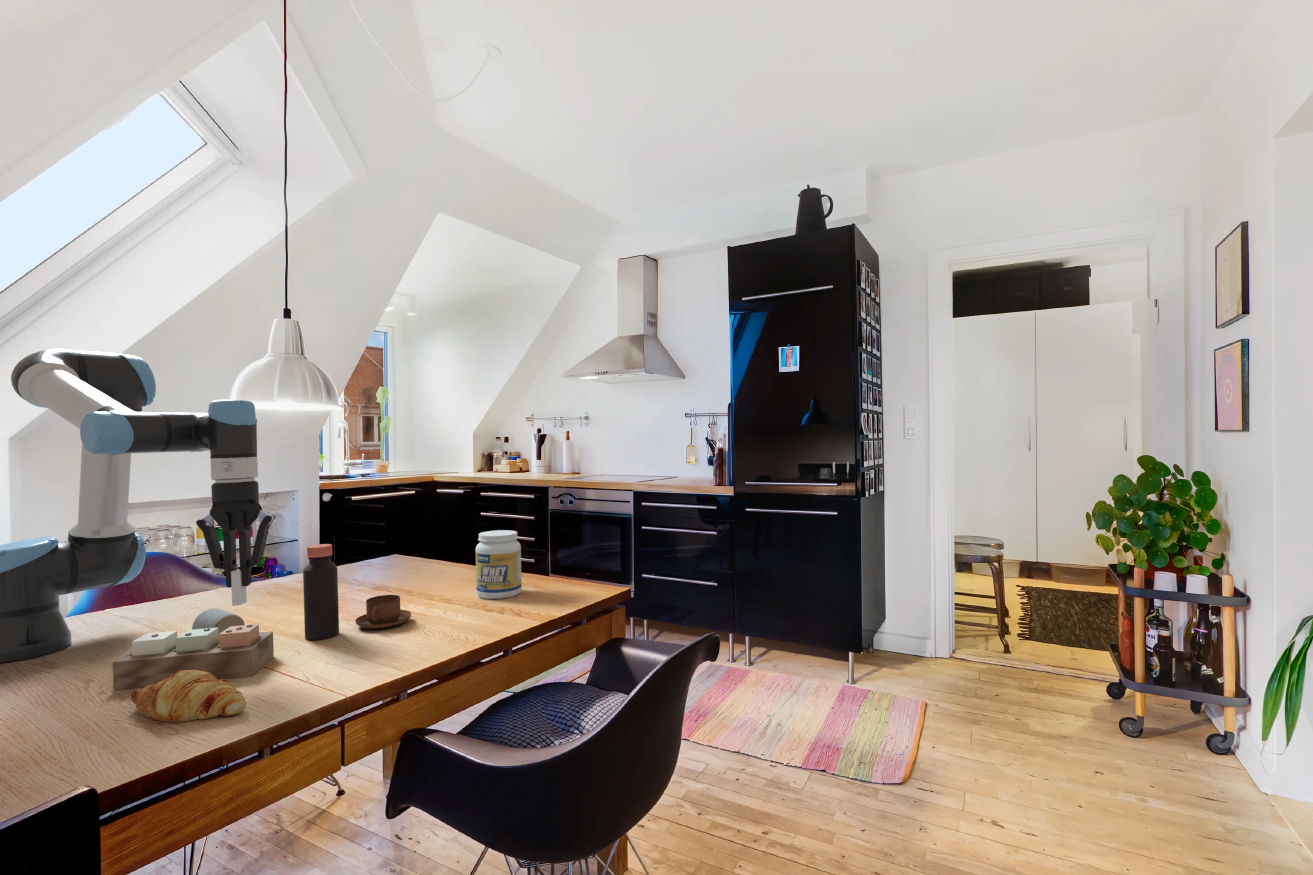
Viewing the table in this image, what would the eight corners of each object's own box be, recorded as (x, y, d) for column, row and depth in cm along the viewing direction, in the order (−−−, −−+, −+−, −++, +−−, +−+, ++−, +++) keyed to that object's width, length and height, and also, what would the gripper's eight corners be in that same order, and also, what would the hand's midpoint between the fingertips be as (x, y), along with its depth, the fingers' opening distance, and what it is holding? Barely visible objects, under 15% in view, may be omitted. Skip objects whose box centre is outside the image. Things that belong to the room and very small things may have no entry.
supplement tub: (472, 601, 167) (470, 537, 167) (480, 589, 179) (479, 530, 179) (519, 599, 168) (517, 535, 168) (524, 587, 180) (523, 528, 180)
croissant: (259, 729, 103) (276, 677, 107) (212, 725, 95) (232, 669, 98) (149, 719, 107) (169, 669, 111) (93, 715, 98) (117, 661, 102)
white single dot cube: (132, 660, 115) (131, 640, 115) (147, 651, 120) (146, 632, 120) (163, 657, 117) (163, 637, 117) (177, 648, 121) (177, 629, 121)
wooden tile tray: (113, 689, 112) (112, 661, 112) (147, 667, 123) (146, 642, 123) (252, 676, 117) (251, 649, 117) (273, 655, 128) (273, 631, 128)
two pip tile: (176, 656, 117) (175, 636, 117) (189, 647, 122) (188, 628, 122) (207, 653, 118) (206, 634, 118) (219, 645, 123) (218, 626, 123)
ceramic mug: (214, 652, 131) (213, 616, 131) (191, 647, 135) (190, 612, 135) (262, 638, 141) (262, 604, 141) (239, 634, 144) (239, 601, 144)
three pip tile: (219, 652, 119) (218, 633, 119) (230, 644, 124) (230, 625, 123) (249, 650, 120) (248, 630, 120) (259, 641, 125) (258, 622, 125)
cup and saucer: (411, 628, 145) (410, 601, 145) (353, 635, 140) (352, 608, 140) (411, 614, 156) (410, 590, 156) (357, 621, 152) (356, 595, 152)
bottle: (346, 631, 143) (343, 543, 143) (322, 641, 136) (320, 549, 136) (321, 630, 145) (319, 542, 145) (297, 639, 138) (294, 548, 138)
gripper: (186, 483, 116) (191, 612, 116) (265, 480, 119) (270, 605, 119) (205, 481, 124) (209, 601, 124) (279, 477, 127) (283, 595, 127)
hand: (239, 603), depth 121 cm, fingers closed
